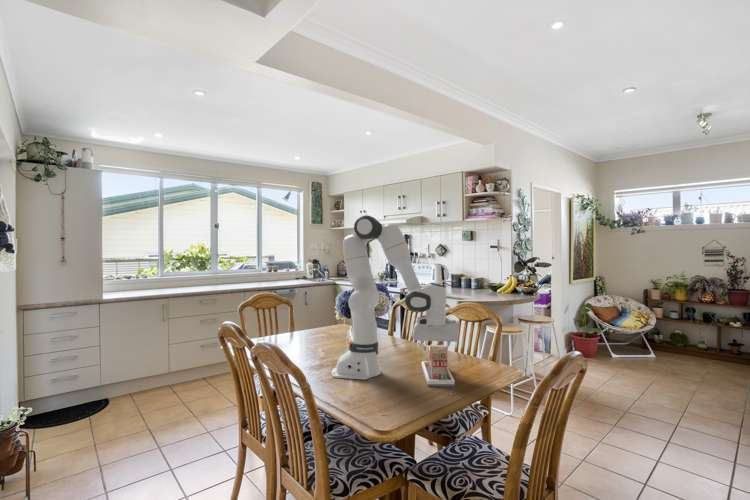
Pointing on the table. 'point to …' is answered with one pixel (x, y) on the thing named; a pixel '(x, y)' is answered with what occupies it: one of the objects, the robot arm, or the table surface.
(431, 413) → the table surface
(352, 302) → the robot arm
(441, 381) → the base plate
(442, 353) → the printed food box
